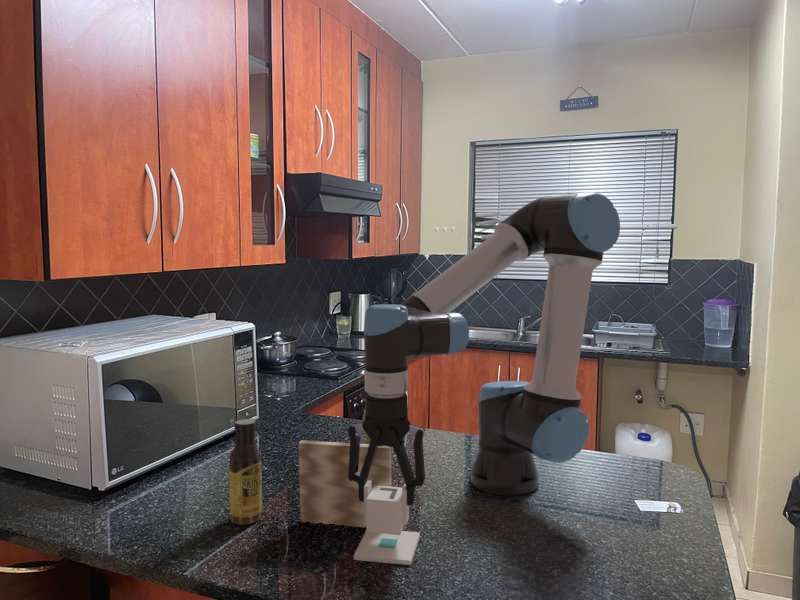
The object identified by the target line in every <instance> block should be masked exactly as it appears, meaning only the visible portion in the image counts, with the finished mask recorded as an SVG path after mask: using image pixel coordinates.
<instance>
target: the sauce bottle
mask: <svg viewBox="0 0 800 600" xmlns="http://www.w3.org/2000/svg"><path fill="white" fill-rule="evenodd" d="M256 428H257V421H256V420H255V419H251V418H245V419H238V420H236V421H234V431H235V441H234V442H235V446H234V448H233V449H232V451H231V453H230V456H229V468H228V469H229V470H228V473H229V474H228V475H229V477H228V479H229V482H228V483H229V514H230V515H229V517H230V518H229V519H230V522H231V523H232V524H235V525H236V526H237V525H238V526H249V525H252V524H255V523H257V522H258V521H259V520H260V519H261V517H262V513H263V512H262V510H263V475H262V474H263V472H262V471H263V468H262V467H263V464H262V463H263V461H262V458H261V456H260V453H259V450H258V447H257V444H256Z"/></svg>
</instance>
